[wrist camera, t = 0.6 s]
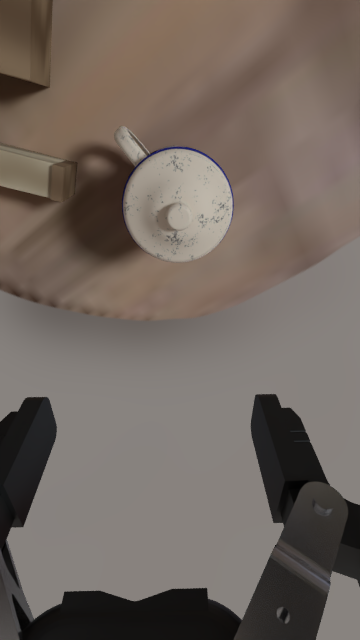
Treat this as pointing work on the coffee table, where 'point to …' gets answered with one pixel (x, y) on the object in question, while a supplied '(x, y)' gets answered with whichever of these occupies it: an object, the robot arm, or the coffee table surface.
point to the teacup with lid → (174, 200)
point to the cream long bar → (37, 173)
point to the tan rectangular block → (26, 40)
